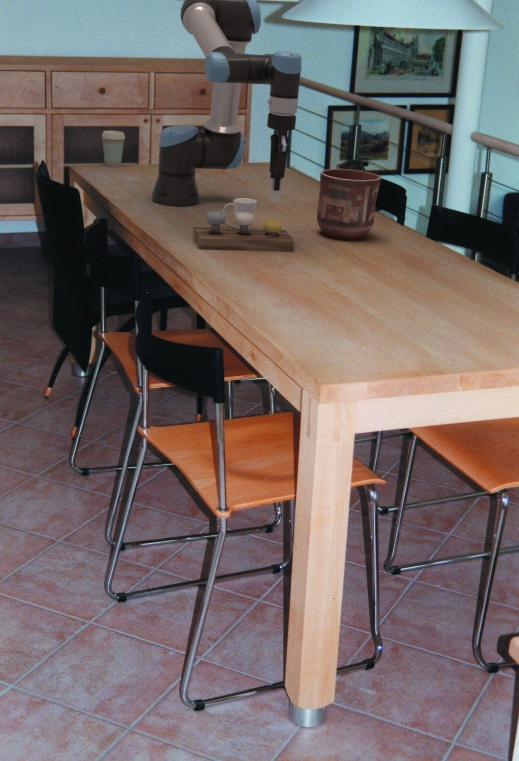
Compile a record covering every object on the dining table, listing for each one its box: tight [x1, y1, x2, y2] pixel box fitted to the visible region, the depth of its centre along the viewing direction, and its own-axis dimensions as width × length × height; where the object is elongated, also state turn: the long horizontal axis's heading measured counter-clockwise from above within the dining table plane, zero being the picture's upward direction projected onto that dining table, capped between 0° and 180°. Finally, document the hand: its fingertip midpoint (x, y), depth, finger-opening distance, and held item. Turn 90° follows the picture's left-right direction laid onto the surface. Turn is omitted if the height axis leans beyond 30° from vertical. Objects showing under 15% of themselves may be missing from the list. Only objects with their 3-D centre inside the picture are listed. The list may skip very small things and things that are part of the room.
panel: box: [193, 226, 295, 252], centre depth 271 cm, size 12×26×3 cm, turn 101°
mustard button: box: [262, 218, 283, 236], centre depth 271 cm, size 5×5×5 cm
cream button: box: [234, 212, 255, 234], centre depth 269 cm, size 5×5×5 cm
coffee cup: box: [101, 130, 126, 168], centre depth 359 cm, size 8×8×12 cm
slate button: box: [206, 210, 226, 233], centre depth 267 cm, size 5×5×5 cm
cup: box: [222, 197, 258, 229], centre depth 287 cm, size 7×10×8 cm
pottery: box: [316, 168, 382, 241], centre depth 287 cm, size 18×18×18 cm
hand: (274, 201), depth 269 cm, fingers closed
